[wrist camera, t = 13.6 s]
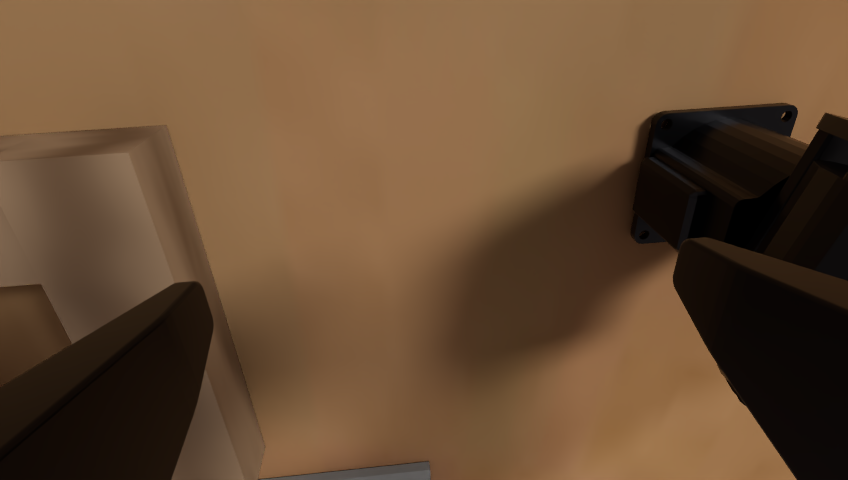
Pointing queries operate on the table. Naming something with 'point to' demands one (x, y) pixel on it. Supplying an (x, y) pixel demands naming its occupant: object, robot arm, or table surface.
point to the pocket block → (123, 262)
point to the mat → (371, 473)
